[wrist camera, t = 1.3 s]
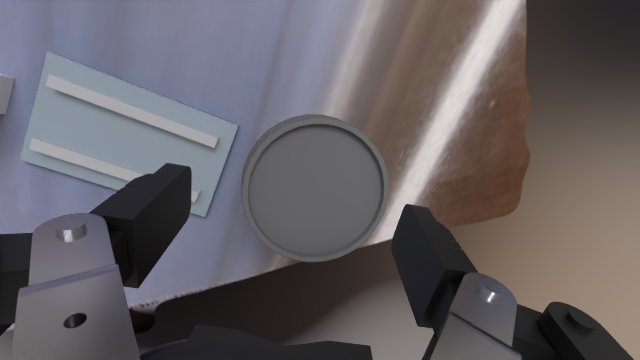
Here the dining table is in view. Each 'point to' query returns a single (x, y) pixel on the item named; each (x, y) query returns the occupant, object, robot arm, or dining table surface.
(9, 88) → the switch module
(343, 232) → the reusable coffee cup
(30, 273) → the robot arm
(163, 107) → the mounting board
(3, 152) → the dining table surface
